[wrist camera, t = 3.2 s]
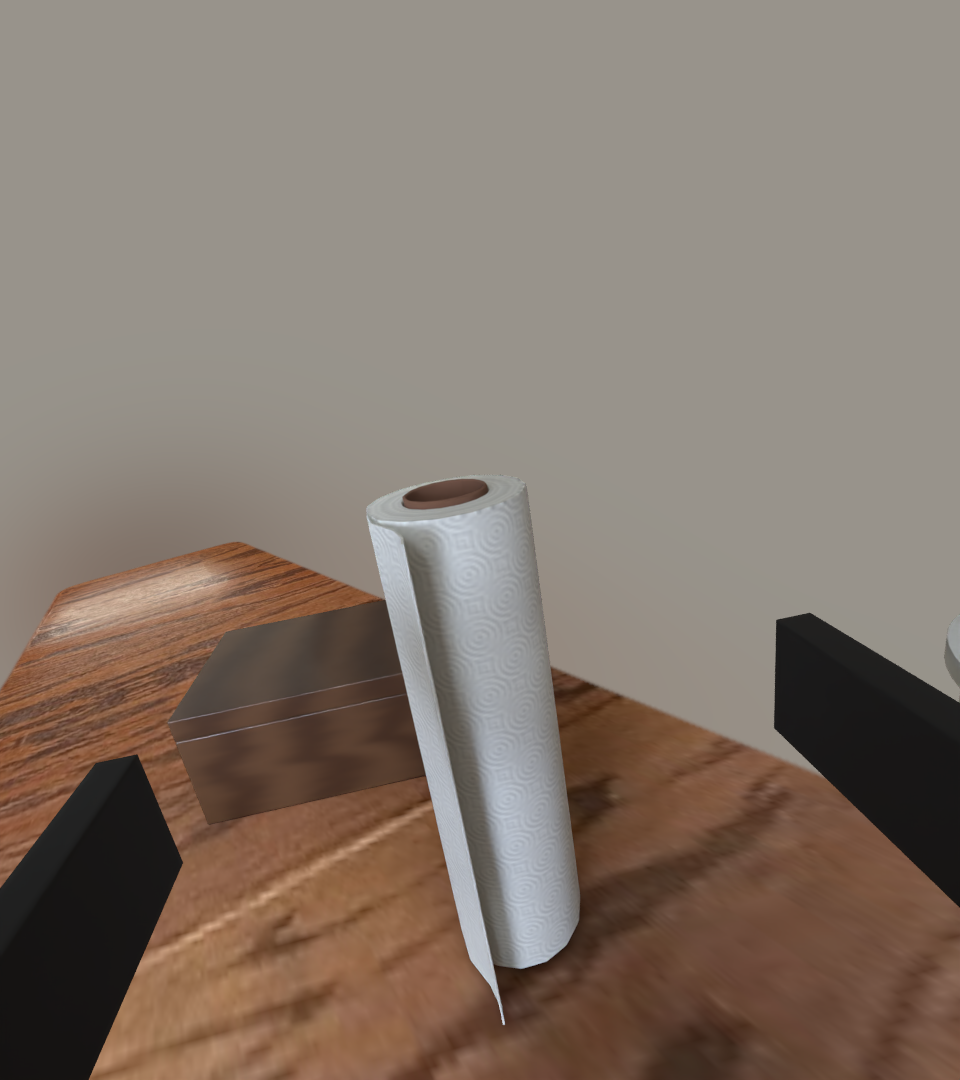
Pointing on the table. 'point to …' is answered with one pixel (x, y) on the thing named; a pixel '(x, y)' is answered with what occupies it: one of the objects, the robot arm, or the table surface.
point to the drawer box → (297, 714)
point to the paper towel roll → (483, 709)
